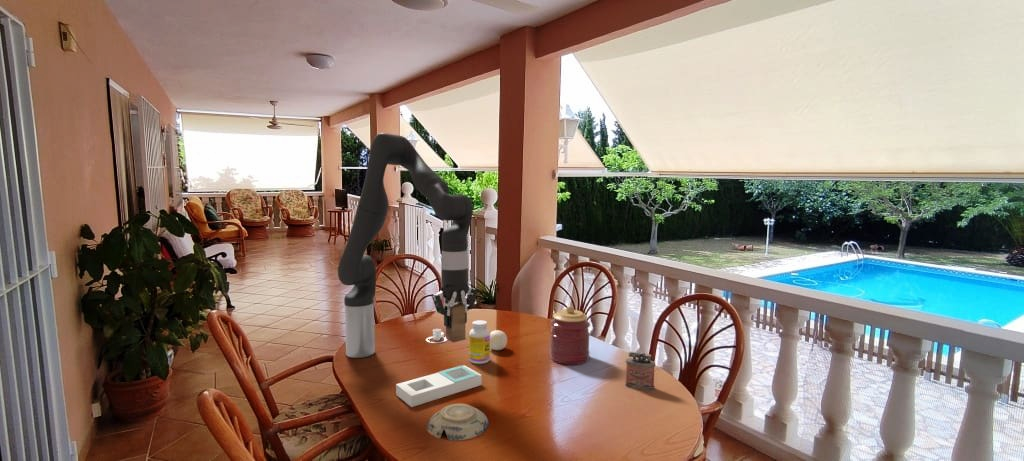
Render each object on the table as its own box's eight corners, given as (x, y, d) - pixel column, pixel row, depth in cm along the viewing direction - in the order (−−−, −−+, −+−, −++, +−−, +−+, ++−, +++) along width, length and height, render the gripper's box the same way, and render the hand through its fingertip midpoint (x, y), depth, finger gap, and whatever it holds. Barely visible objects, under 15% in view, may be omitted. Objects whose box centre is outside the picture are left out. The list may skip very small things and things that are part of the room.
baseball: (511, 347, 167) (511, 329, 166) (500, 354, 161) (501, 335, 160) (494, 344, 170) (494, 326, 170) (483, 350, 164) (483, 332, 163)
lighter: (654, 386, 136) (655, 352, 135) (654, 391, 133) (655, 356, 132) (625, 382, 139) (626, 349, 138) (624, 386, 136) (625, 352, 135)
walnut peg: (445, 338, 135) (445, 304, 134) (458, 336, 137) (457, 302, 136) (453, 342, 132) (452, 307, 131) (465, 339, 134) (465, 304, 133)
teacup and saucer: (438, 335, 181) (438, 324, 181) (453, 339, 177) (453, 328, 176) (421, 341, 174) (421, 330, 174) (436, 345, 170) (436, 334, 169)
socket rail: (396, 394, 130) (396, 383, 130) (464, 374, 143) (464, 364, 143) (411, 407, 123) (411, 395, 123) (481, 384, 136) (481, 374, 136)
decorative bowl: (491, 411, 122) (433, 409, 122) (491, 397, 121) (433, 395, 122) (486, 444, 107) (420, 441, 108) (486, 428, 107) (419, 426, 107)
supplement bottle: (486, 365, 151) (486, 326, 149) (466, 363, 152) (466, 324, 151) (491, 358, 157) (492, 320, 156) (472, 356, 159) (472, 318, 157)
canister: (570, 368, 149) (571, 313, 147) (541, 357, 158) (542, 305, 157) (597, 358, 157) (598, 306, 155) (567, 348, 167) (568, 298, 165)
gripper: (469, 262, 140) (469, 319, 142) (425, 267, 131) (426, 327, 133) (483, 265, 134) (483, 325, 136) (438, 271, 125) (439, 334, 127)
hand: (455, 326), depth 134 cm, fingers closed on walnut peg, 4 cm apart
